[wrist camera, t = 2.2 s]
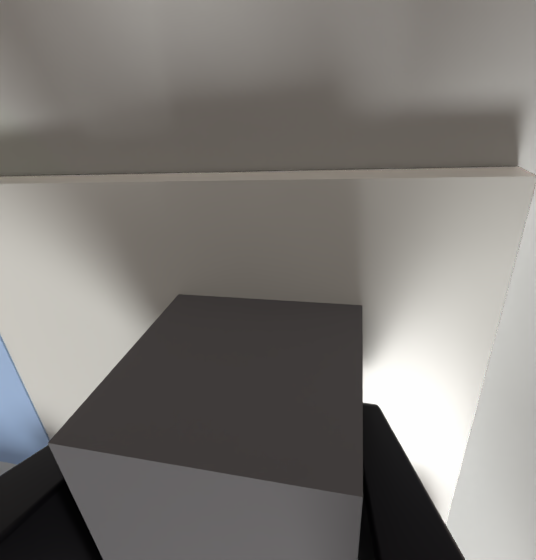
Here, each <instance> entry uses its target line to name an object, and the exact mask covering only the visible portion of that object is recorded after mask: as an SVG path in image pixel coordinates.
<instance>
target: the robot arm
mask: <svg viewBox="0 0 536 560" xmlns="http://www.w3.org/2000/svg"><path fill="white" fill-rule="evenodd" d="M0 560H103V558H102V556H101V554H100V552H99V550H98V548H97V545H96V543H95V541H94V539H93V537H92V535H91V533H90V531H89V529H88V527H87V525H86V522H85V520H84V518H83V516H82V514H81V512H80V510H79V508H78V506H77V504H76V502H75V499H74V497H73V495H72V493H71V491H70V489H69V487H68V485H67V483H66V481H65V478H64V476H63V474H62V472H61V470H60V468H59V466H58V464H57V462H56V460H55V458H54V455H53V453H52V451H51V449H50V447H49V445H47V446H46V447H44V448H42V449H41V450H39V451H38V452H36V453H35V454H33V455H32V456H30V457H28V458H27V459H25V460H24V461H22V462H21V463H19V464H17V465H16V466H14V467H13V468H11V469H10V470H8V471H6V472H5V473H3V474H2V475H0ZM357 560H465V558H464V557H463V555H462V553H461V551H460V549H459V548H458V546H457V544H456V542H455V540H454V539H453V537H452V535H451V533H450V532H449V530H448V528H447V526H446V524H445V523H444V521H443V519H442V517H441V516H440V514H439V512H438V510H437V508H436V507H435V505H434V503H433V501H432V499H431V498H430V496H429V494H428V492H427V491H426V489H425V487H424V485H423V483H422V482H421V480H420V478H419V476H418V474H417V473H416V471H415V469H414V467H413V466H412V464H411V462H410V460H409V458H408V457H407V455H406V453H405V451H404V449H403V448H402V446H401V444H400V442H399V441H398V439H397V437H396V435H395V433H394V432H393V430H392V428H391V426H390V424H389V423H388V421H387V419H386V417H385V416H384V414H383V412H382V410H381V408H380V407H379V406H378V405H377V404H371V403H363V502H362V513H361V525H360V536H359V547H358V559H357Z"/></svg>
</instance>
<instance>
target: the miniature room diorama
mask: <svg viewBox="0 0 536 560" xmlns="http://www.w3.org/2000/svg"><path fill="white" fill-rule="evenodd" d="M535 186H536V175H535V174H533V173H531V172H529V171H527V170H525V169H523V168H521V167H519V166H518V167H466V168H415V169H363V170H311V171H260V172H208V173H156V174H105V175H53V176H1V177H0V475H2V474H3V473H5V472H6V471H8V470H10V469H11V468H13V467H14V466H16V465H17V464H19V463H21V462H22V461H24V460H25V459H27V458H28V457H30V456H32V455H33V454H35V453H36V452H38V451H39V450H41V449H42V448H44V447H46V446H47V445H48V442H49V441H50V440H51V439H52V437H53V436H54V435H55V434H56V433H57V432H58V431H59V430H60V428H61V427H62V426H63V425H64V424H65V423H66V422H67V420H68V419H69V418H70V417H71V416H72V415H73V414H74V412H75V411H76V410H77V409H78V408H79V407H80V406H81V405H82V403H83V402H84V401H85V400H86V399H87V398H88V397H89V395H90V394H91V393H92V392H93V391H94V390H95V389H96V387H97V386H98V385H99V384H100V383H101V382H102V381H103V380H104V378H105V377H106V376H107V375H108V374H109V373H110V372H111V370H112V369H113V368H114V367H115V366H116V365H117V364H118V362H119V361H120V360H121V359H122V358H123V357H124V356H125V355H126V353H127V352H128V351H129V350H130V349H131V348H132V347H133V345H134V344H135V343H136V342H137V341H138V340H139V339H140V337H141V336H142V335H143V334H144V333H145V332H146V331H147V330H148V328H149V327H150V326H151V325H152V324H153V323H154V322H155V320H156V319H157V318H158V317H159V316H160V315H161V314H162V312H163V311H164V310H165V309H166V308H167V307H168V306H169V304H170V303H171V302H172V301H173V300H174V299H175V298H176V297H177V295H178V294H183V295H200V296H217V297H233V298H250V299H267V300H283V301H300V302H317V303H333V304H350V305H362V333H363V403H371V404H377V405H378V406H379V407H380V408H381V410H382V412H383V414H384V416H385V417H386V419H387V421H388V423H389V424H390V426H391V428H392V430H393V432H394V433H395V435H396V437H397V439H398V441H399V442H400V444H401V446H402V448H403V449H404V451H405V453H406V455H407V457H408V458H409V460H410V462H411V464H412V466H413V467H414V469H415V471H416V473H417V474H418V476H419V478H420V480H421V482H422V483H423V485H424V487H425V489H426V491H427V492H428V494H429V496H430V498H431V499H432V501H433V503H434V505H435V507H436V508H437V510H438V512H439V514H440V516H441V517H442V519H443V521H444V523H445V524H446V522H447V518H448V514H449V511H450V507H451V503H452V499H453V496H454V492H455V488H456V484H457V480H458V477H459V473H460V469H461V465H462V462H463V458H464V454H465V450H466V446H467V443H468V439H469V435H470V431H471V428H472V424H473V420H474V416H475V412H476V409H477V405H478V401H479V397H480V394H481V390H482V386H483V382H484V378H485V375H486V371H487V367H488V363H489V359H490V356H491V352H492V348H493V344H494V341H495V337H496V333H497V329H498V325H499V322H500V318H501V314H502V310H503V307H504V303H505V299H506V295H507V291H508V288H509V284H510V280H511V276H512V273H513V269H514V265H515V261H516V257H517V254H518V250H519V246H520V242H521V238H522V235H523V231H524V227H525V223H526V220H527V216H528V212H529V208H530V204H531V201H532V197H533V193H534V189H535Z"/></svg>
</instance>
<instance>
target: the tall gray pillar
mask: <svg viewBox="0 0 536 560" xmlns="http://www.w3.org/2000/svg"><path fill="white" fill-rule="evenodd" d="M48 445H49V447H50V449H51V451H52V453H53V455H54V458H55V460H56V462H57V464H58V466H59V468H60V470H61V472H62V474H63V476H64V478H65V481H66V483H67V485H68V487H69V489H70V491H71V493H72V495H73V497H74V499H75V502H76V504H77V506H78V508H79V510H80V512H81V514H82V516H83V518H84V520H85V522H86V525H87V527H88V529H89V531H90V533H91V535H92V537H93V539H94V541H95V543H96V545H97V548H98V550H99V552H100V554H101V556H102V558H103V560H357V559H358V547H359V536H360V525H361V513H362V502H363V333H362V305H350V304H333V303H317V302H300V301H283V300H267V299H250V298H233V297H217V296H200V295H183V294H178V295H177V297H176V298H175V299H174V300H173V301H172V302H171V303H170V304H169V306H168V307H167V308H166V309H165V310H164V311H163V312H162V314H161V315H160V316H159V317H158V318H157V319H156V320H155V322H154V323H153V324H152V325H151V326H150V327H149V328H148V330H147V331H146V332H145V333H144V334H143V335H142V336H141V337H140V339H139V340H138V341H137V342H136V343H135V344H134V345H133V347H132V348H131V349H130V350H129V351H128V352H127V353H126V355H125V356H124V357H123V358H122V359H121V360H120V361H119V362H118V364H117V365H116V366H115V367H114V368H113V369H112V370H111V372H110V373H109V374H108V375H107V376H106V377H105V378H104V380H103V381H102V382H101V383H100V384H99V385H98V386H97V387H96V389H95V390H94V391H93V392H92V393H91V394H90V395H89V397H88V398H87V399H86V400H85V401H84V402H83V403H82V405H81V406H80V407H79V408H78V409H77V410H76V411H75V412H74V414H73V415H72V416H71V417H70V418H69V419H68V420H67V422H66V423H65V424H64V425H63V426H62V427H61V428H60V430H59V431H58V432H57V433H56V434H55V435H54V436H53V437H52V439H51V440H50V441H49V442H48Z"/></svg>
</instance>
